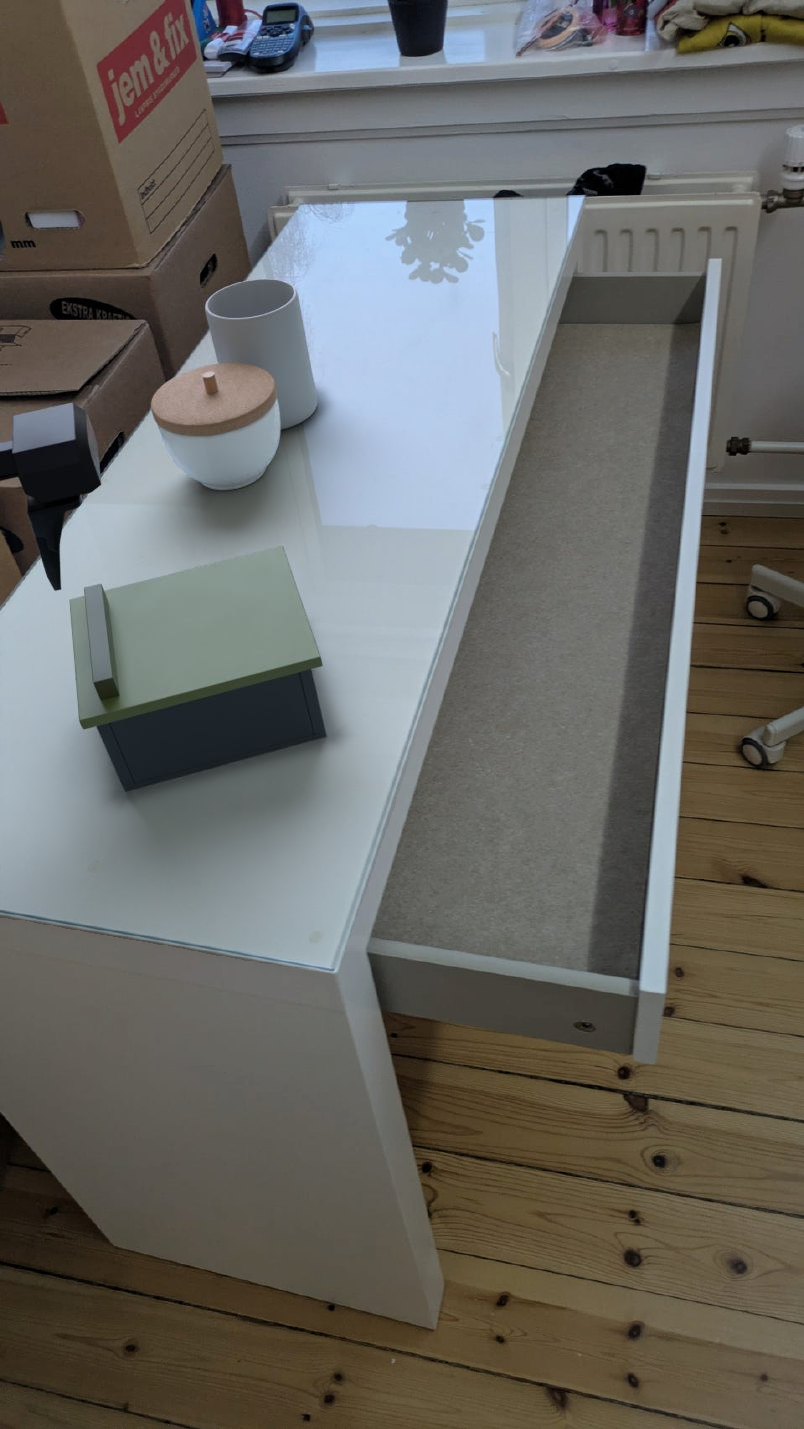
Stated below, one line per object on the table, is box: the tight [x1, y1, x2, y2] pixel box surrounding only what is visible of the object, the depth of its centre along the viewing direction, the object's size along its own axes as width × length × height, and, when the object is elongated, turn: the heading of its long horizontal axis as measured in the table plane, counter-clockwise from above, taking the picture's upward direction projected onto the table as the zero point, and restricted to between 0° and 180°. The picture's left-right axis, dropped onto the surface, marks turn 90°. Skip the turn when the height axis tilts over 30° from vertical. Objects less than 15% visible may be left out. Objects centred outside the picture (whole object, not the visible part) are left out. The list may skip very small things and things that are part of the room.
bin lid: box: [68, 545, 323, 730], centre depth 71 cm, size 15×13×2 cm
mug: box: [204, 278, 319, 431], centre depth 102 cm, size 12×8×11 cm
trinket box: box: [150, 363, 282, 491], centre depth 95 cm, size 11×11×9 cm
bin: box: [95, 669, 328, 793], centre depth 74 cm, size 14×12×6 cm
